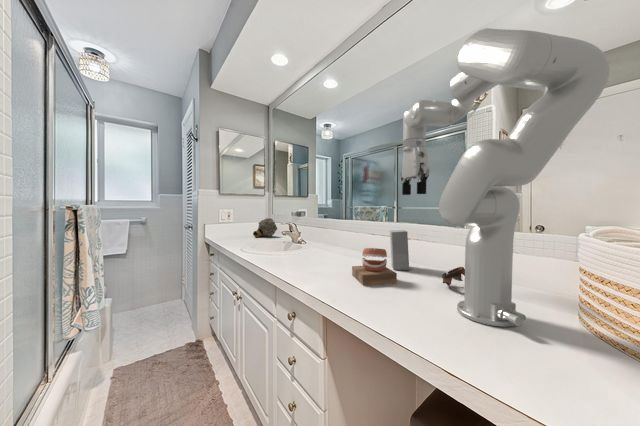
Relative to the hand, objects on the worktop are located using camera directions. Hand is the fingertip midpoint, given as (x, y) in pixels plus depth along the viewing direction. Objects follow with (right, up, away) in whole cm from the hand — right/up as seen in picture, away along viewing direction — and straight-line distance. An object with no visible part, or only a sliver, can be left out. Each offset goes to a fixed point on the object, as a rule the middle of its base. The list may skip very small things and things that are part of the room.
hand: (413, 194), depth 89 cm
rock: (-79, -26, +112) cm, 139 cm away
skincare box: (0, -30, +16) cm, 34 cm away
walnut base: (-14, -31, +1) cm, 34 cm away
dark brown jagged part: (+12, -31, -10) cm, 35 cm away
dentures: (-14, -27, +1) cm, 31 cm away
